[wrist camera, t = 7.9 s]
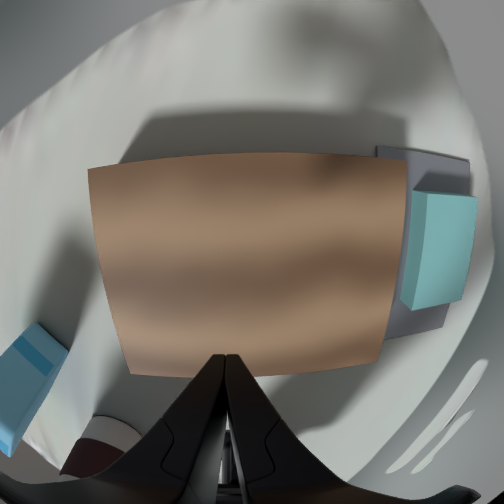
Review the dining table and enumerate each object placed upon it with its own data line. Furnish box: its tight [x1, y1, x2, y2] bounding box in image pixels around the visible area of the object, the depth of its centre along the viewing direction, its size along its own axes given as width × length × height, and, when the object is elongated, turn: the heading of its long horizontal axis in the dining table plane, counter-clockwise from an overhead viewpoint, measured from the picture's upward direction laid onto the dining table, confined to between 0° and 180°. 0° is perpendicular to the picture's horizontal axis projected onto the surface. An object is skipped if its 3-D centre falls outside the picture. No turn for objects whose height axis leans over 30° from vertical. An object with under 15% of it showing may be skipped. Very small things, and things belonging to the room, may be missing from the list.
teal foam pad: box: [400, 190, 478, 311], centre depth 18 cm, size 9×6×2 cm, turn 3°
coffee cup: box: [58, 416, 142, 482], centre depth 18 cm, size 10×10×15 cm
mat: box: [376, 146, 470, 340], centre depth 19 cm, size 16×10×1 cm, turn 1°
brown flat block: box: [88, 152, 407, 378], centre depth 17 cm, size 14×18×4 cm
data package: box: [0, 323, 68, 457], centre depth 16 cm, size 12×4×12 cm, turn 137°
